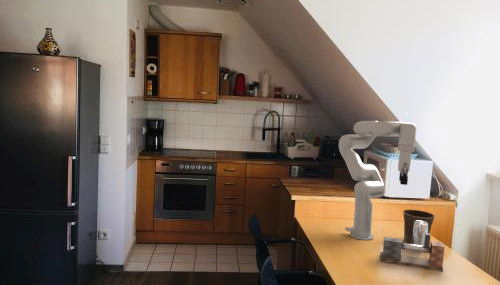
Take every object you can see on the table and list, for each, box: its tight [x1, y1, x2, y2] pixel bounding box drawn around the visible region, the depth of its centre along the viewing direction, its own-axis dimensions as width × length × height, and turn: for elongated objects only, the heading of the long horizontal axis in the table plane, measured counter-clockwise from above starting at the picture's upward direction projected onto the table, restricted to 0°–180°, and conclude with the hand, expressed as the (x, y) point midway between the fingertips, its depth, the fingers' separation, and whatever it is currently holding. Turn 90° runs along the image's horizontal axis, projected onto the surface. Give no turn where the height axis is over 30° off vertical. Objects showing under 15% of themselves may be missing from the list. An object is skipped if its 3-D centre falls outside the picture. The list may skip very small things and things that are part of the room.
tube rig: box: [379, 236, 445, 272], centre depth 192 cm, size 27×10×11 cm, turn 72°
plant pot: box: [402, 209, 436, 244], centre depth 222 cm, size 16×16×16 cm
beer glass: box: [413, 220, 428, 253], centre depth 209 cm, size 7×7×15 cm
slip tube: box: [402, 232, 432, 254], centre depth 191 cm, size 19×3×9 cm, turn 72°
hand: (403, 182), depth 200 cm, fingers open, 9 cm apart
